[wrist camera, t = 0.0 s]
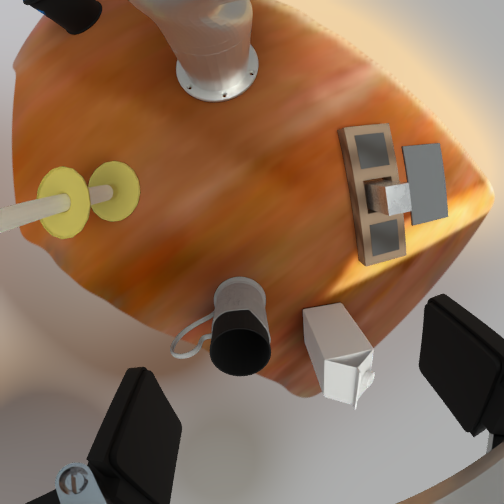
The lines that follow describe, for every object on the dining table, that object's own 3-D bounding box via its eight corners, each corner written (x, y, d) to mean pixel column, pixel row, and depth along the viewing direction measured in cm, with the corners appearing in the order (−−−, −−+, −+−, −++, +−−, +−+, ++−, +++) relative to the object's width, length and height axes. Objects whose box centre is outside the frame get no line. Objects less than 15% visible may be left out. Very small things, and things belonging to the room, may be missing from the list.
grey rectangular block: (359, 183, 43) (385, 186, 34) (380, 179, 43) (408, 182, 34) (363, 206, 44) (388, 215, 36) (383, 202, 44) (411, 210, 35)
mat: (401, 146, 41) (402, 146, 41) (438, 143, 41) (439, 143, 41) (411, 225, 45) (413, 225, 45) (446, 216, 45) (447, 216, 45)
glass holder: (270, 318, 49) (281, 373, 35) (191, 332, 49) (176, 388, 35) (260, 271, 46) (269, 316, 32) (176, 288, 47) (153, 336, 32)
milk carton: (304, 341, 51) (330, 415, 32) (302, 308, 49) (332, 379, 30) (340, 334, 51) (378, 403, 32) (341, 301, 49) (386, 365, 30)
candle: (148, 210, 43) (0, 291, 12) (98, 229, 43) (-49, 314, 12) (130, 151, 40) (-37, 140, 9) (81, 174, 41) (-82, 202, 9)
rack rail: (337, 130, 41) (344, 127, 38) (380, 125, 40) (388, 123, 37) (358, 260, 47) (366, 266, 44) (397, 250, 46) (406, 255, 44)
